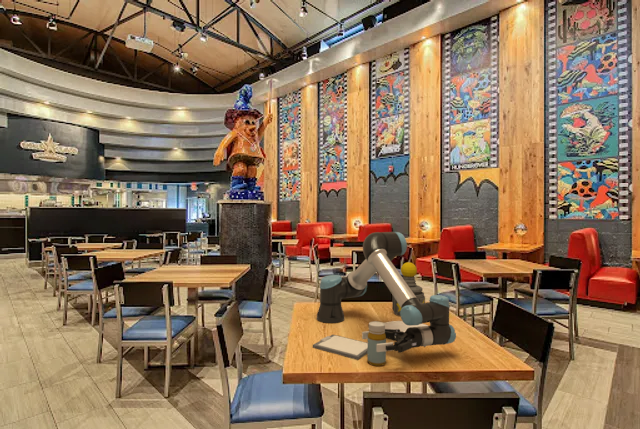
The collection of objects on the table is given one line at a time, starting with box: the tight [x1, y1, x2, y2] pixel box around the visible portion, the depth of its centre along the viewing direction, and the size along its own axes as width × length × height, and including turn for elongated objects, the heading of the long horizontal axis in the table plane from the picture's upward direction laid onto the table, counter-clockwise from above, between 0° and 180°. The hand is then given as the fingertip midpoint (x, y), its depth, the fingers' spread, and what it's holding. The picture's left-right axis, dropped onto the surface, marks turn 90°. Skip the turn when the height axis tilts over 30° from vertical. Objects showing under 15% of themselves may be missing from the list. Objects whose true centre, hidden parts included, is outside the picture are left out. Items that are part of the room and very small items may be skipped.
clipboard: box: [312, 334, 368, 361], centre depth 148 cm, size 22×16×2 cm
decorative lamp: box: [391, 261, 426, 317], centre depth 201 cm, size 19×19×30 cm
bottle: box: [366, 321, 387, 367], centre depth 133 cm, size 7×7×15 cm
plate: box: [383, 320, 429, 332], centre depth 168 cm, size 29×29×2 cm
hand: (369, 341), depth 132 cm, fingers open, 13 cm apart
